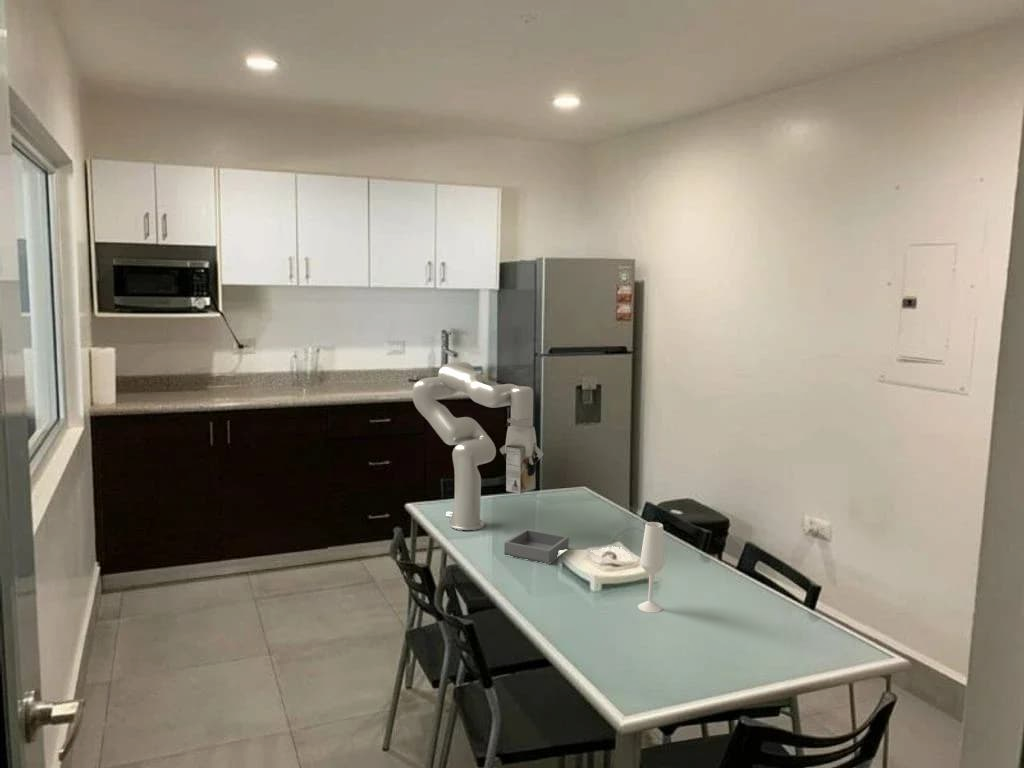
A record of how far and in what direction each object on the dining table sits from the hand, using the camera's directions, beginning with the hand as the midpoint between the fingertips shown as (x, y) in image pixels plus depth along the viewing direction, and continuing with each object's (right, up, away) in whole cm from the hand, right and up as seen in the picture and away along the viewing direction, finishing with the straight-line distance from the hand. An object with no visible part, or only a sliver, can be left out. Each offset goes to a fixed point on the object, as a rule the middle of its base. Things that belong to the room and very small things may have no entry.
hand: (521, 473), depth 265 cm
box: (+5, -25, -8) cm, 27 cm away
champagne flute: (+36, -32, -49) cm, 68 cm away
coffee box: (0, -6, +1) cm, 6 cm away
